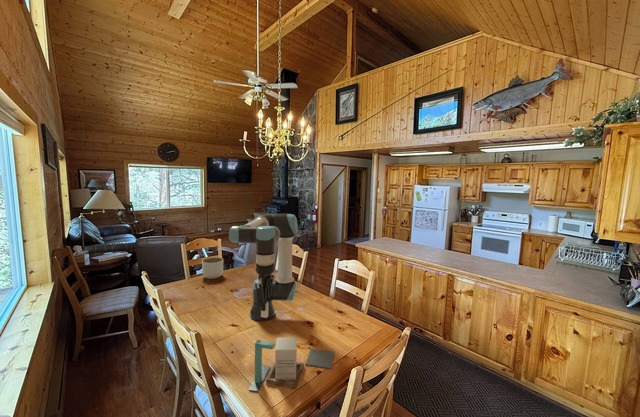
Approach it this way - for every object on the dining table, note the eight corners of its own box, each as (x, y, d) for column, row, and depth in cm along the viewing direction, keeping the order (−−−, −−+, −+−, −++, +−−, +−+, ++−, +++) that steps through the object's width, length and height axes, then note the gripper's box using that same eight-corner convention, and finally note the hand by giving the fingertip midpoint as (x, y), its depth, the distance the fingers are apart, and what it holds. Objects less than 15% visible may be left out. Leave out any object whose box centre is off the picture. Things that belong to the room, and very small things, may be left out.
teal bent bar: (254, 382, 110) (255, 343, 108) (257, 378, 113) (257, 339, 111) (271, 385, 109) (272, 345, 107) (274, 381, 111) (274, 342, 110)
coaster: (305, 365, 123) (305, 364, 123) (310, 349, 134) (310, 348, 134) (331, 369, 121) (331, 367, 120) (334, 352, 132) (334, 351, 132)
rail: (248, 390, 107) (248, 389, 107) (262, 366, 121) (262, 365, 121) (257, 392, 106) (257, 391, 106) (270, 367, 120) (270, 366, 120)
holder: (266, 383, 111) (266, 379, 110) (276, 363, 123) (276, 359, 123) (296, 388, 108) (296, 384, 108) (303, 367, 121) (303, 363, 121)
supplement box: (276, 368, 120) (276, 337, 119) (296, 367, 121) (296, 336, 119) (274, 383, 111) (274, 349, 110) (295, 382, 112) (296, 349, 110)
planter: (197, 279, 221) (197, 262, 220) (209, 273, 238) (209, 256, 237) (216, 281, 219) (216, 263, 217) (227, 274, 235) (227, 257, 234)
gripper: (266, 268, 104) (265, 325, 107) (279, 259, 117) (279, 311, 119) (249, 266, 106) (248, 322, 109) (264, 258, 119) (263, 308, 121)
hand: (264, 316), depth 114 cm, fingers closed
